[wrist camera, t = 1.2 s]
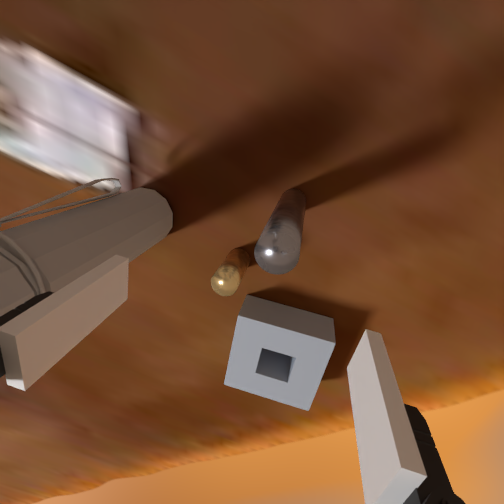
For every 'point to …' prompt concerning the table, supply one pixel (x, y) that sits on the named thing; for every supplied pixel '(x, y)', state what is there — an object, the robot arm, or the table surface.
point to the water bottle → (77, 240)
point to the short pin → (230, 272)
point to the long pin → (282, 234)
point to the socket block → (279, 352)
